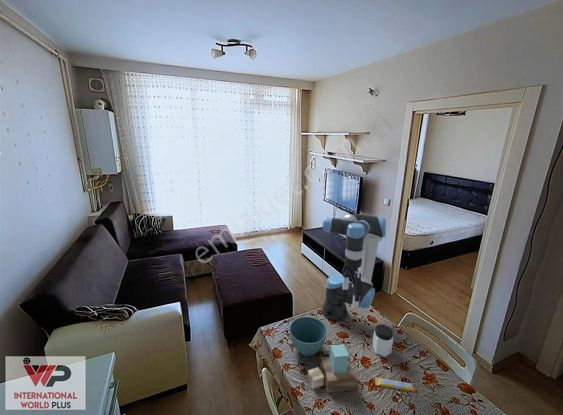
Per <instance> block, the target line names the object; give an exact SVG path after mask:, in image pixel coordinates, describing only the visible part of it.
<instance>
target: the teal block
mask: <svg viewBox="0 0 563 415" xmlns="http://www.w3.org/2000/svg"><path fill="white" fill-rule="evenodd" d="M329 356H330V365H331V368H332V371H333V374H338V373H347V369H348V359H350V357H349V356H350V355H349V353H348V351H347V348H346V346H345V344H335V345H334V344H333V345H332V344H331V345H330V350H329Z"/></svg>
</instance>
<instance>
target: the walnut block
mask: <svg viewBox="0 0 563 415" xmlns="http://www.w3.org/2000/svg"><path fill="white" fill-rule="evenodd" d="M349 359H350V358H348V369H347V373H338V374H333V371H332V368H331V365H330V355H329V356H321V357H320V371H321V372H322V374H323V376H324V385H325V388H326V390H327V392H326V393H333V392H334V393H336V392H343V391H344V392H346V391H355V390H356V388H357V376H356V374H355V371H354V369H353V367H352V364H351V362H350V360H349Z"/></svg>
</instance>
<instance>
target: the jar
mask: <svg viewBox="0 0 563 415" xmlns="http://www.w3.org/2000/svg"><path fill="white" fill-rule="evenodd" d="M374 329H375V330H374V331H373V337H372V346H371V348H372V349H373V351H374V353H375V354H376V355H379V356H381V357H384V358H386V357H387V356H389V355H390V354H392V349H393V344H394V343H393V342H394V331H393V329H392V328H391V327H390V326H388V325H386V324H381V323H380V324H377V325H376V326H375V328H374Z"/></svg>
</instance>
